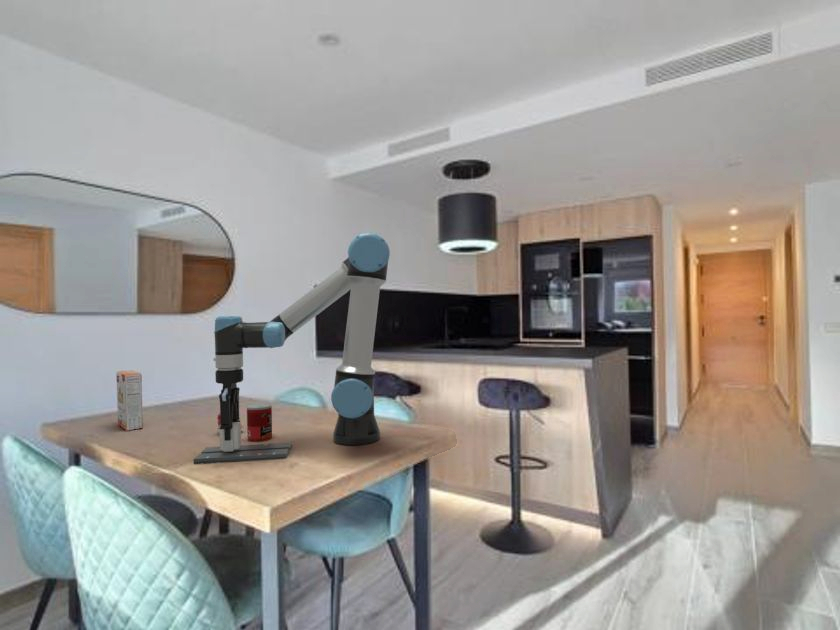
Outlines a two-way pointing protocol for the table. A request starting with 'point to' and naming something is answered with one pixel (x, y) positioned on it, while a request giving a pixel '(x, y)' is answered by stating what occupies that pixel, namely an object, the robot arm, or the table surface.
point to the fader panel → (244, 453)
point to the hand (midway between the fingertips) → (230, 448)
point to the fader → (236, 435)
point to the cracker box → (129, 400)
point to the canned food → (259, 422)
